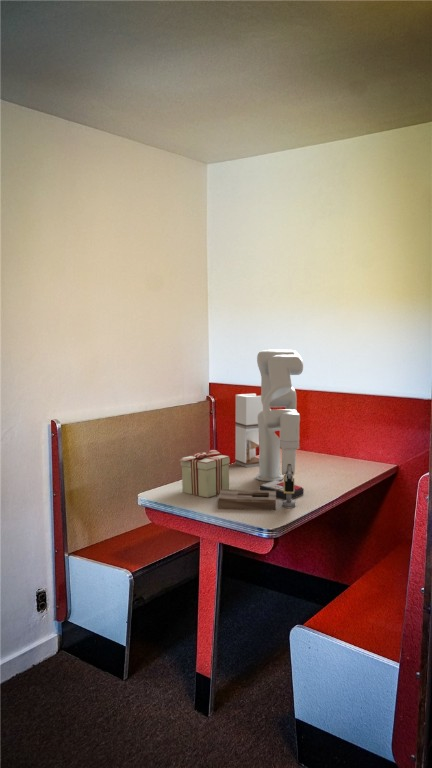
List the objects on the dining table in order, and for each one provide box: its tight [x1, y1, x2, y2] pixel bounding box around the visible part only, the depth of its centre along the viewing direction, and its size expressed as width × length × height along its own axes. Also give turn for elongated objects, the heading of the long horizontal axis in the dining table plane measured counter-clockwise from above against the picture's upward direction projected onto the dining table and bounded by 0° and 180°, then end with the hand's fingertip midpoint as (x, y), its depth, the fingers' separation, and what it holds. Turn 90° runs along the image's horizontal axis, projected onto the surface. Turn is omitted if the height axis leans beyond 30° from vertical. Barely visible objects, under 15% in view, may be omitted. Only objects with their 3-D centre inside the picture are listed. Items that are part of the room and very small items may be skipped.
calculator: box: [259, 480, 305, 500], centre depth 256 cm, size 11×4×15 cm
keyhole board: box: [217, 489, 277, 511], centre depth 241 cm, size 13×22×4 cm, turn 84°
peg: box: [282, 474, 296, 509], centre depth 239 cm, size 5×5×12 cm
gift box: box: [177, 449, 231, 499], centre depth 259 cm, size 17×18×17 cm
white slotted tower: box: [234, 393, 263, 468], centre depth 309 cm, size 11×11×35 cm
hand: (288, 488), depth 239 cm, fingers open, 9 cm apart
